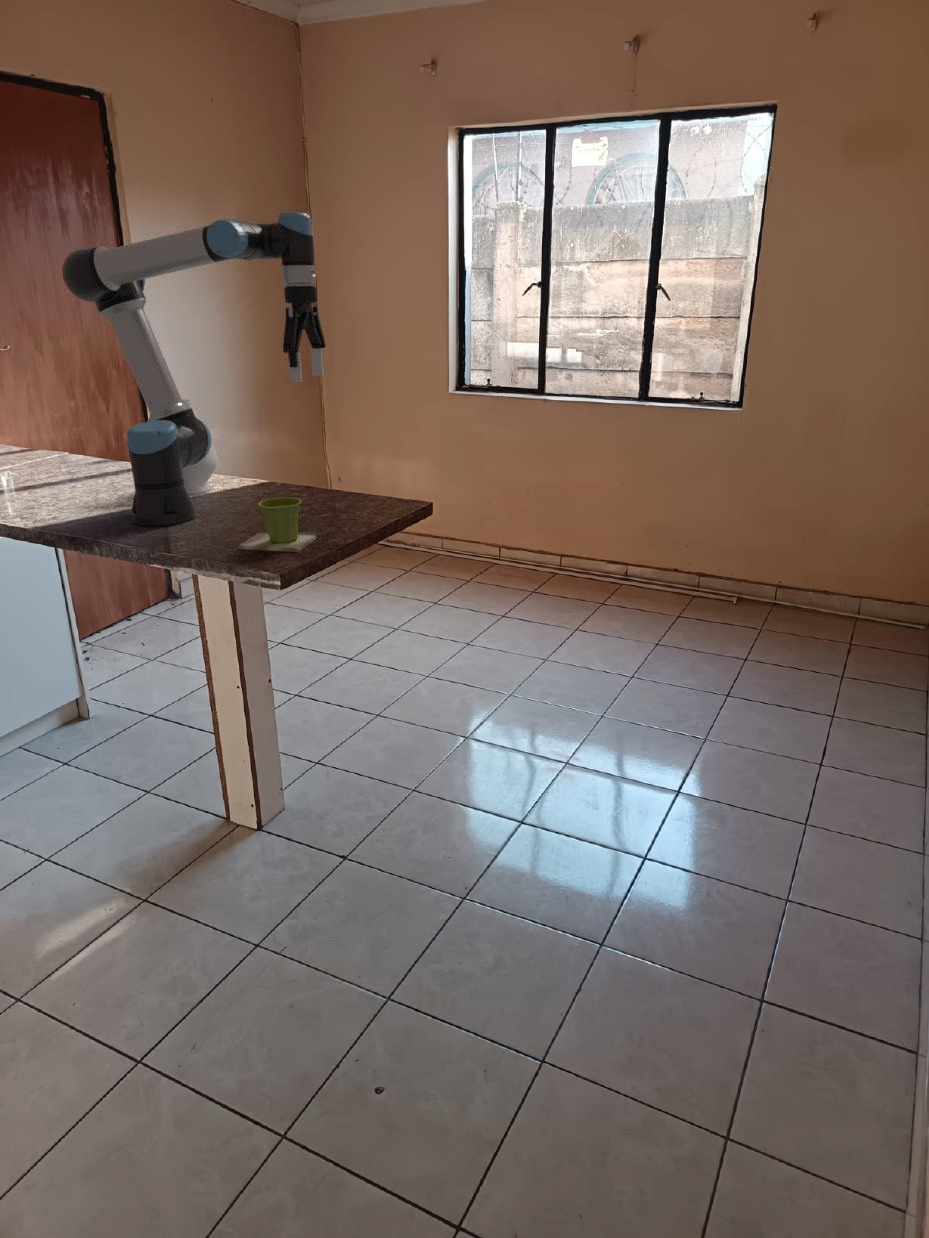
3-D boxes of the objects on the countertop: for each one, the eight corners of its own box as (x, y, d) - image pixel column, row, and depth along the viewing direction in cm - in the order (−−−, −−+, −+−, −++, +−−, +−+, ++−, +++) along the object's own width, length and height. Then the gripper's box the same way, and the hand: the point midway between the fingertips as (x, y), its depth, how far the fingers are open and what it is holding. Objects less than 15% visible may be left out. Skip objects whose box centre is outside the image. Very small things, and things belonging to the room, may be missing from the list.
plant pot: (263, 547, 189) (259, 508, 185) (261, 536, 197) (257, 499, 194) (306, 543, 191) (303, 505, 188) (302, 532, 199) (299, 495, 196)
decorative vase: (207, 481, 258) (197, 395, 249) (231, 491, 244) (220, 401, 235) (147, 490, 248) (134, 401, 239) (168, 501, 235) (155, 407, 225)
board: (238, 549, 191) (238, 545, 190) (262, 534, 202) (262, 530, 201) (298, 552, 188) (297, 548, 187) (318, 537, 199) (318, 533, 198)
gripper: (293, 285, 191) (301, 384, 199) (334, 284, 214) (340, 373, 222) (262, 286, 193) (271, 384, 201) (305, 285, 216) (312, 373, 223)
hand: (307, 378), depth 211 cm, fingers open, 13 cm apart
